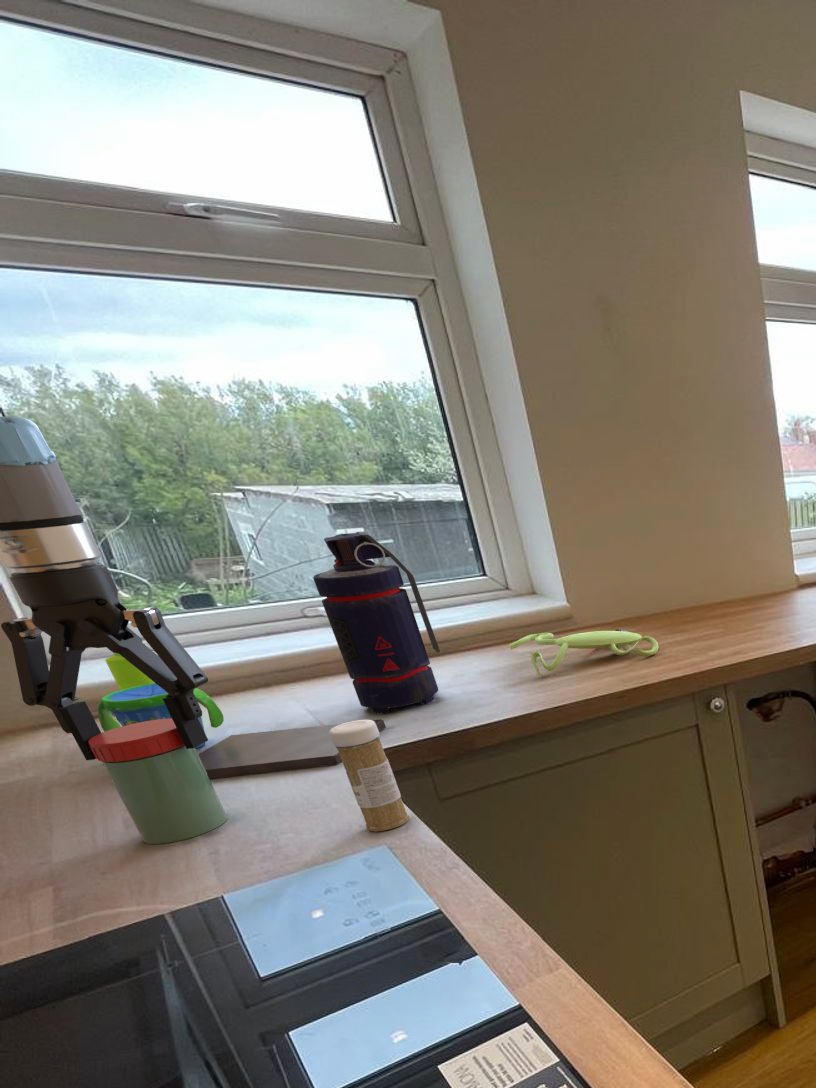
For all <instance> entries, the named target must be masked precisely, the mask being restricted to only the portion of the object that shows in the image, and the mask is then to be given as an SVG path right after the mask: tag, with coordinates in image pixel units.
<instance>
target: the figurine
mask: <svg viewBox="0 0 816 1088" xmlns="http://www.w3.org/2000/svg"><path fill="white" fill-rule="evenodd" d="M530 641H534V642H535V643H536V644H537V645H539V646H548V645H549V646H552V645H554V646H555V645H557V646H559V647H560V649H559V651H558V652H557V654H556V656H555V658H554V660H553V661H552V663H550V664H547V662H546V661H545V659H544V657H543V655H542V654H541V653H540V652H539V651H538V650H536V651H534V652H531V654H530V659H531V663H532V665H533V667H534V669H535V672H536V675H537V677H539V678H541V677H542V676H541V675H542V674H541V672H540V669H539V667H538V663H537V658H539V657H540V660H541V664H542V666H543V668H544V669H545V670H547V671H549V672H550V671H554V670H556V669H557V668H558V667H559V666H560V664H561V662H562V660H563V659H564V657H565V656H566V654H567V652H568V649H581V650H585V649H586V650H587V649H588V650H589V649H590V650H591V649H592V650H591V651H590V652H588V656H590V657H591V656H593V655H595V654H596V653H597V652H599V651H600V650H602V649H605V648H606V649H610V651H611V652H612V654H614V655H617V656H624V655H626V654H628V653H630V652H631V651H632V650H633V649H634V651H635V653H636V654H639V655H640V656H643V657H644V656H645V657H650V656H654V655H656V653H657V652H658V651H659V647H660V646H659V643H658V641H657V640H656V638H654V637H653V636H649V635H647V636H646V635H644V636H642V635H641V634H640V633H636V632H631V631H628V630H625V629H620V628H616V629H614V630H597V631H587V632H580V633H574V634H570V635H565V636H562V637H560V638H554V634H553V633H551V632H541V633H531V634H528V635H526V636H524V637H521V638H520V639H518V640H515V641H513V642H511V643H509V644H508V647H509V650H510V651H511V650H514V649H516V648H518V647H520V646H522V645H524V644H526V643H528V642H530ZM643 641H646V642H648V643H649V644H651V646H652V647H651V649H650V650H649V649H648V650H643V649H641V648H638V647H636V646H637V645H638V644H639V643H640V642H643ZM633 643H635V644H634V645H632V646H631V645H630V644H633ZM621 649H622V650H621Z"/></svg>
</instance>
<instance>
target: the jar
mask: <svg viewBox="0 0 816 1088" xmlns="http://www.w3.org/2000/svg"><path fill="white" fill-rule="evenodd" d="M198 754H199V753H198V751H197V748H196V749H195V748H191V749H186V746H185V745H183V746H181V747H178V748H176V749H173V750H170V751H167V752H164V753H160V754H157V755H153V756H148V757H144V758H139V759H134V760H127V761H119V762H101V763H102V765H103V767H104V769H105V771H106V773H107V775H108V776H109V778H110V780H111V782H112V784H113V786H114V788H115V790H116V792H117V794H118V796H119V797H120V800H121V801H122V804H123V805H124V807H125V809H126V811H127V812H128V815H129V817H130V819H131V821H132V822H133V824H134V826H135V828H136V830H137V832H138V834H139V835H140V838H141V839H142V841H143V842H144V843H145V844H149V845H164V844H170V843H177V842H180V841H184V840H187V839H192V838H195V837H197V836H201V835H203V834H205V833H209V832H210V831H213V830H215V829H217V828H219V827H220V826H222V825H224V824H225V823H226V821H227V820H228V815H227V813H226V811H225V808H224V806H223V804H222V802H221V800H220V798H219V796H218V794H217V792H216V789H215V787H214V785H213V783H212V781H211V779H209V777H208V774H207V772H206V770H205V768H204V766H203V764H202V762H201V760H200V757H199V755H198Z"/></svg>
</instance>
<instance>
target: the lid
mask: <svg viewBox="0 0 816 1088" xmlns="http://www.w3.org/2000/svg"><path fill="white" fill-rule="evenodd" d="M88 743H89V745H90V746H89V747H90V749H91V750H92V752H93V754H94V756H95V758H96V759H95V760H97V761H99V762H101V763H102V762H119V761H127V760H134V759H139V758H144V757H148V756H153V755H157V754H160V753H164V752H167V751H170V750H173V749H176V748H178V747H181V746H183V745H185V744H184V742H183V740H182V738H181V736H180V734H179V732H178V730H177V728H176V726H175V724H174V722H173V719H172V718H169V719H158V720H151V721H145V722H140V723H135V724H130V725H126V726H121V727H119V728H115V729H112V730H109V731H106V732H104V731H103V732H101V733H100V734H98V735H96V736H94V737H92V738H91V739H89V741H88Z"/></svg>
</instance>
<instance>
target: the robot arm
mask: <svg viewBox="0 0 816 1088" xmlns="http://www.w3.org/2000/svg"><path fill="white" fill-rule="evenodd" d="M101 557H102V553H101V551H100V549H99V547H98V545H97V543H96V541H95V539H94V536H93V535H92V532H91V530H90V529H89V526H88V525H87V523H86V521H85V520H84V517H83V516H82V513H81V510H80V507H79V506H78V504H77V502H76V500H75V497H74V495H73V493H72V490H71V488H70V486H69V484H68V482H67V480H66V478H65V475H64V473H63V471H62V469H61V466H60V465H59V462H58V460H57V455H56V454H55V452H54V451H52V449H50V446H49V445H48V443H47V441H46V439H45V438H44V436H43V433H42V432H41V429H40V428H39V426H38V425H37V424H36V423H35V422H34V421H32V420H30V419H28V418H26V417H23V416H8V415H7V416H6V415H5V416H0V563H1V564H2V566H3V568H6V569H11V570H13V571H14V572H12V573H10V576H9V577H8V578H9V580H10V582H11V584H12V586H13V588H14V590H15V592H16V594H17V596H18V597H19V599H20V601H21V603H22V604H23V605H24V606H26V607H29V608H30V610H31V617H27V616H25V617H19V618H15V619H12V620H8V621H4V622H2V623H1V625H0V627H1V629H2V631H3V632H4V634H5V636H6V637H7V639H8V640H9V642H10V643H11V648H12V652H13V658H14V664H15V667H16V673H17V677H18V678H17V679H18V683H19V687H20V693H21V697H22V701H23V703H24V704H25V705H27V706H31V707H34V706H42V707H46V708H47V709H50V710H51V711H52V713H53V715H54V716H55V719H56V720H57V722H58V724H59V725H60V727H61V729H62V731H64V732H65V733H66V734H72V736H73V739H74V740H75V742H76V744H77V746H78V748H79V750H80V752H81V754H82V755H83V757H84V759H85V761H93V760H97V759H96V758H95V756H94V754H93V752H92V750H91V749H90V747H89V746H90V745H89V743H88V741H89V739H91V738H92V737H94V736H96V735H98V734H100V733H102V731H101V729H100V727H99V726H98V724H97V721H96V719H95V718H94V716H93V714H92V712H91V710H90V708H89V707H88V704H87V702H86V701H78V700H79V699H80V697H79V696H78V697H77V696H76V692H77V686H78V685H77V684H78V679H79V673H80V667H81V661H82V655H83V653H84V652H85V650H86V649H88V648H94V649H102V648H103V649H105V648H106V649H108V650H109V651H110V652H112V653H113V652H114V653H118V654H120V655H121V656H122V657H124V658H125V659H126V660H127V661H129V662H130V663H131V664H132V665H134V666H135V667H136V668H137V669H139V670H140V671H141V672H142V673H144V674H145V675H146V676H147V677H148V678H150V679H151V680H152V681H153V682H155V683H156V684H157V685H158V686H160V687H161V688H162V689H163V690H165V691H166V692H167V693H168V695H167V696H165V698H163V701H164V703H165V705H166V707H167V709H168V711H169V713H170V715H171V717H172V719H173V722H174V724H175V726H176V728H177V730H178V732H179V734H180V736H181V738H182V740H183V742H184V744H185V746H186V749H191V748H195V747H197V746H199V745H201V744H202V743H204V742H205V743H206V742H208V741H209V739H208V736H207V734H206V731H205V729H204V730H203V728H202V726H201V724H200V721H199V719H198V718H199V717H203V710H202V708H201V706H200V703H199V702H197V699H196V697H195V695H194V689H195V688H196V687H197V688H198V687H201V686H203V685H205V684H207V683H208V682H209V678H208V676H207V675H206V674H205V672H204V671H203V669H201V668H200V666H199V665H198V664H197V662H196V661H195V660H194V659H193V658H192V656H191V655H190V654H189V652H188V651H187V650H186V649H185V648H184V647H183V645H182V644H181V642H179V640H178V639H177V637H176V636H175V635H174V634H173V633H172V631H171V630H170V629H169V628H168V627H167V626H166V622H165V620H164V618H163V615H162V611H161V610H160V609H159V608H158V607H157V606H148V607H145V608H128V607H126V606H125V605H124V603H122V602H121V601H120V599H119V591H118V590H119V589H118V587H117V585H116V583H115V580H114V579H113V577H112V575H111V572H110V570H109V568H108V567H107V565H106V564H105V565H104V564H103V563H102V562H97V559H99V558H101ZM129 622H130V623H131V624H130V626H131V627H133V628H137V630H138V632H139V633H140V635H141V636H142V637H141V636H139V635H138V634H137V633H136V632H135V631H134V630H132V629H131V628H129V626H128V625H129ZM42 633H44V634H46V635H48V636H49V637H50V639H49V644H48V645H49V646H48V654H49V655H50V663H49V662H48V658H47V652H46V649H45V642H44V638H43V637H42ZM122 639H123V640H124V641H121V640H122ZM143 639H144V640H145V641H146V642H147V644H148V645H149V646H150V647H149V646H147V645H146V644H145V643H143ZM153 651H154V652H155V653H154V652H153ZM48 663H49V664H48ZM204 731H205V732H204ZM205 743H204V744H205Z"/></svg>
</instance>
